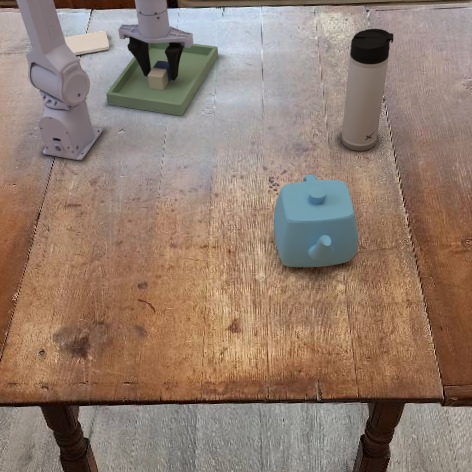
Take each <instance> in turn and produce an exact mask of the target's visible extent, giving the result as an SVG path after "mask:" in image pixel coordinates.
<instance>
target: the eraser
mask: <svg viewBox="0 0 472 472" xmlns="http://www.w3.org/2000/svg"><path fill="white" fill-rule="evenodd" d="M170 80H171V77H170V68H169V63H168V61H167V60H158V61H157V62H156V64H155V65H154V67H153V69H152V70H151V71H150V73H149V74H148V81H149V87H150V88H152V89H159V90H164V89H165V87H166V86H167V84H168V83H169V82H170Z"/></svg>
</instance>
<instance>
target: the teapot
mask: <svg viewBox="0 0 472 472" xmlns="http://www.w3.org/2000/svg"><path fill="white" fill-rule="evenodd" d="M276 199H277V200H276V203H275V207H274V211H273V212H274V213H273V235H274V241H275V245H276V250H277V253H278V257H279V259H280V261H281V263H282V264H283V265H284V266H286V267H290V268H321V267H328V266H334V265H340V264H345V263H348V262H350V261H352V260H353V258H354V257H355V256H356V254H357V251H358V246H359V233H358V223H357V218H356V212H355V209H354V204H353V200H352V197H351V193H350V191H349V188H348V185H347V183H346V181H343V180H340V179H318V177H317V175H315V174H312V173H311V174H310V173H309V174H306V175H304V177H303V181H298V182H291V183H288V184H287V183H286V184H284V185H283V186H282V187H281V189H280V191H279V194H278V196H277V198H276Z"/></svg>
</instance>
